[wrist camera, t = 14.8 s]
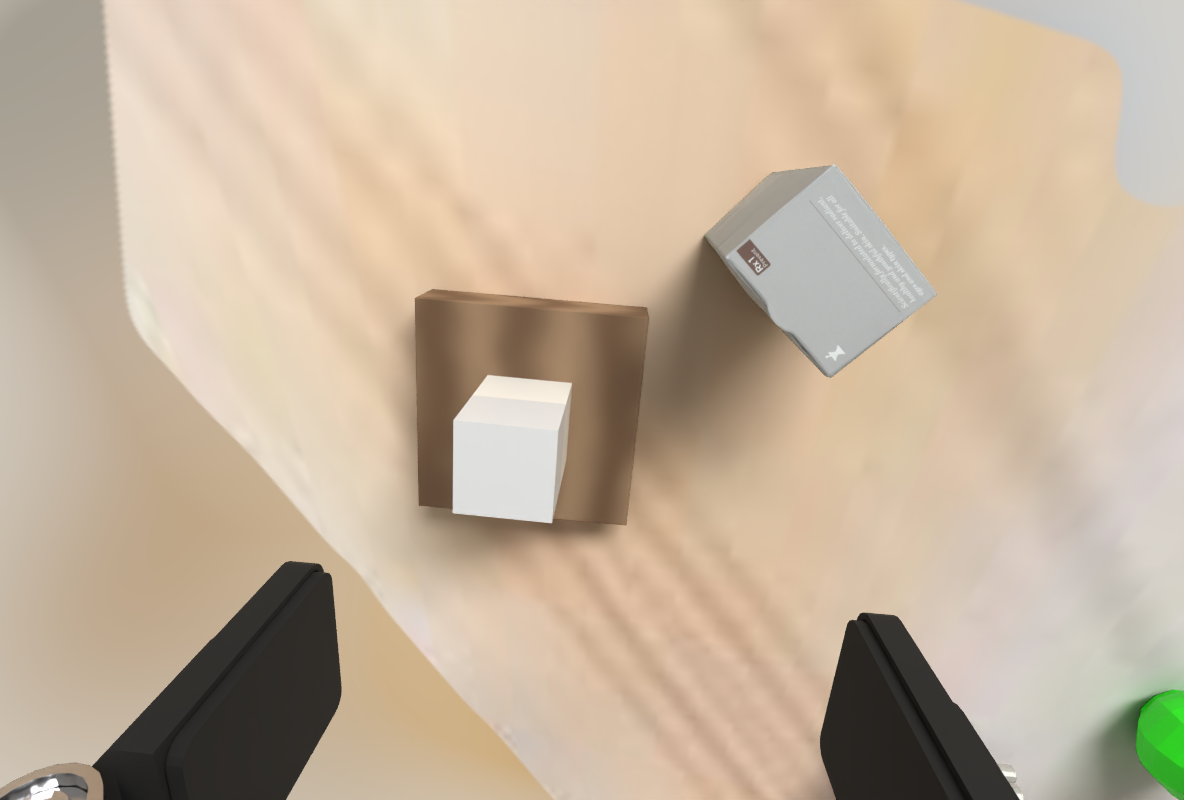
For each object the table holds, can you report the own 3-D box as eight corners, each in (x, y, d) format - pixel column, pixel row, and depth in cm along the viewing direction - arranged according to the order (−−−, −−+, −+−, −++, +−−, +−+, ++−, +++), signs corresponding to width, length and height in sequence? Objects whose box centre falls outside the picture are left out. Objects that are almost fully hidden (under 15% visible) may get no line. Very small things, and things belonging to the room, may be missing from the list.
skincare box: (845, 256, 43) (962, 291, 28) (764, 324, 45) (833, 390, 30) (770, 163, 41) (851, 147, 26) (689, 237, 43) (722, 262, 28)
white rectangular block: (572, 383, 43) (558, 430, 34) (566, 460, 45) (552, 523, 36) (487, 375, 43) (453, 420, 35) (485, 452, 45) (452, 513, 36)
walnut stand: (647, 307, 45) (648, 318, 41) (626, 500, 50) (626, 525, 46) (432, 289, 45) (414, 298, 42) (434, 482, 51) (418, 505, 47)
